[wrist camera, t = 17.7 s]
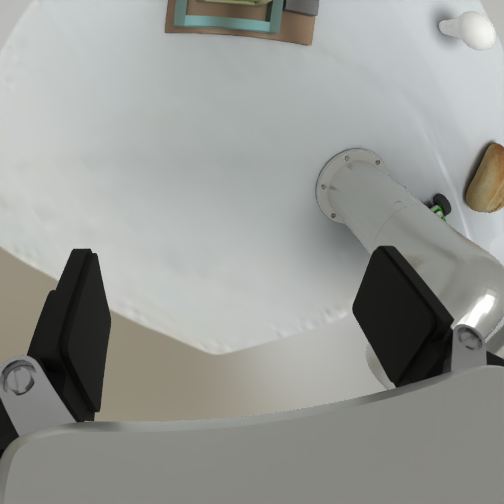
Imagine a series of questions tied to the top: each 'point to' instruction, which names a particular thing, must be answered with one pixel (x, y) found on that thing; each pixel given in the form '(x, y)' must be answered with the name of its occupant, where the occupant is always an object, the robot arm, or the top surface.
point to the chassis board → (245, 19)
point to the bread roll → (488, 182)
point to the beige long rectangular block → (239, 2)
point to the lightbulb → (470, 30)
